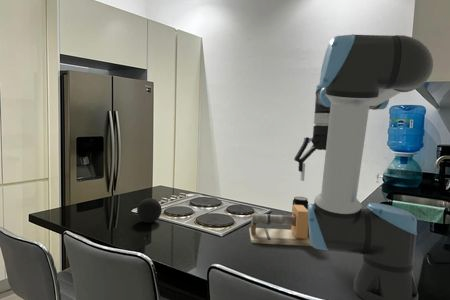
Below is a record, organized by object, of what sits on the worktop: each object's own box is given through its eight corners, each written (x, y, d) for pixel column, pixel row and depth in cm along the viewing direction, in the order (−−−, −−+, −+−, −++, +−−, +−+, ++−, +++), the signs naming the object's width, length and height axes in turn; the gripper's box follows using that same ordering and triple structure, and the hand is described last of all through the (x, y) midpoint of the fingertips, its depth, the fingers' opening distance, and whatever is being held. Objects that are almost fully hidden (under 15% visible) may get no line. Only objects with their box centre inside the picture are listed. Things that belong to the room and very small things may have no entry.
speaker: (166, 221, 140) (166, 198, 139) (151, 227, 131) (152, 202, 130) (147, 217, 144) (147, 194, 144) (131, 223, 135) (132, 199, 134)
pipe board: (305, 233, 133) (307, 211, 133) (315, 246, 119) (316, 222, 119) (249, 230, 133) (250, 208, 133) (251, 242, 120) (252, 218, 119)
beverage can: (306, 228, 140) (308, 200, 139) (291, 226, 142) (293, 199, 141) (306, 223, 147) (308, 197, 146) (291, 222, 148) (293, 195, 147)
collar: (301, 229, 131) (302, 205, 130) (307, 238, 121) (309, 211, 120) (291, 229, 131) (292, 204, 130) (296, 238, 121) (298, 211, 120)
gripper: (352, 127, 128) (348, 181, 129) (288, 123, 128) (285, 178, 129) (361, 126, 120) (356, 184, 122) (293, 123, 120) (289, 181, 121)
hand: (319, 181), depth 125 cm, fingers open, 13 cm apart
